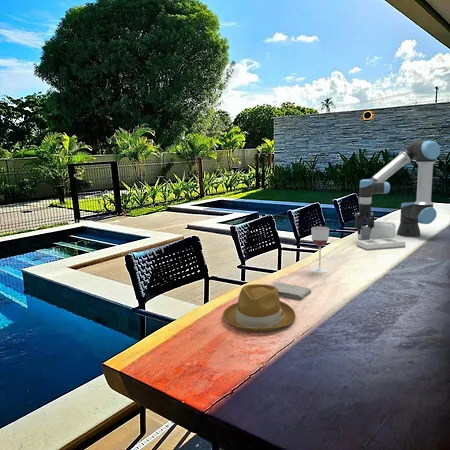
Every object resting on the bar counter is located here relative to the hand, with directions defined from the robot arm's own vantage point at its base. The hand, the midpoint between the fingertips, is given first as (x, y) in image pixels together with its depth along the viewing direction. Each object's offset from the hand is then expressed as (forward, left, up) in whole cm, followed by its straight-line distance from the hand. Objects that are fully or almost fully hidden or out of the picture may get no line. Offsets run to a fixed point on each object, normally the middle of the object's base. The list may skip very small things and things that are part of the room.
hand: (363, 238), depth 261 cm
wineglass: (+53, +49, -3) cm, 72 cm away
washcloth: (+80, +76, -3) cm, 110 cm away
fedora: (+99, +98, -3) cm, 140 cm away
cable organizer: (-16, -4, -3) cm, 17 cm away
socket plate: (-4, +13, -3) cm, 14 cm away
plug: (0, 0, -3) cm, 3 cm away
